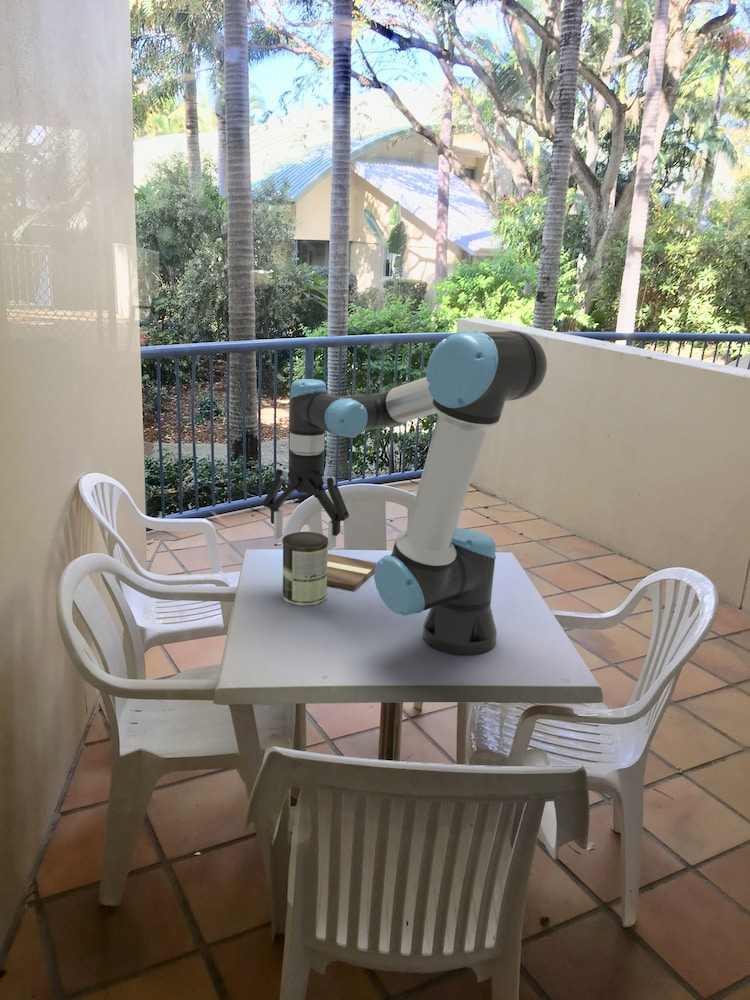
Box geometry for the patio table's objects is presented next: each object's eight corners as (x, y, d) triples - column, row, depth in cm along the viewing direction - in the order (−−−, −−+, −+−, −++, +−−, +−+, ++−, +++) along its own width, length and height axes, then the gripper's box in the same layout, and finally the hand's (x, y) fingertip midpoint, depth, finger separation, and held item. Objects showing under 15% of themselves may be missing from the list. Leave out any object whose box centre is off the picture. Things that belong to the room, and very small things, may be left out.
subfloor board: (354, 591, 175) (354, 585, 175) (286, 577, 181) (286, 571, 181) (379, 568, 189) (379, 563, 189) (316, 556, 196) (316, 551, 195)
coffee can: (273, 598, 169) (273, 540, 165) (299, 584, 178) (300, 528, 174) (310, 610, 164) (311, 550, 160) (335, 594, 173) (337, 537, 169)
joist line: (366, 574, 181) (366, 573, 181) (301, 561, 188) (301, 561, 188) (371, 570, 184) (371, 569, 184) (306, 558, 190) (306, 557, 190)
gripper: (366, 455, 160) (361, 547, 167) (265, 440, 169) (264, 528, 175) (352, 462, 154) (348, 558, 160) (248, 447, 162) (247, 538, 169)
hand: (304, 542), depth 168 cm, fingers open, 13 cm apart
